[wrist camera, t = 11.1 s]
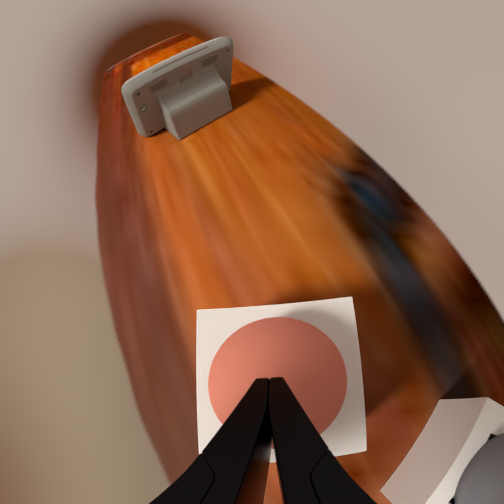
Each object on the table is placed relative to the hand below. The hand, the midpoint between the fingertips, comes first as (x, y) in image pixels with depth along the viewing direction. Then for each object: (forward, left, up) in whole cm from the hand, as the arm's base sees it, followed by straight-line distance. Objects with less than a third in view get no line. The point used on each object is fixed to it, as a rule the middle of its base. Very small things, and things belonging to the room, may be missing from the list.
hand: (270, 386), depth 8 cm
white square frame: (0, 0, -13) cm, 13 cm away
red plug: (0, 0, -12) cm, 12 cm away
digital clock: (+23, +28, -14) cm, 39 cm away
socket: (0, -17, -13) cm, 22 cm away
